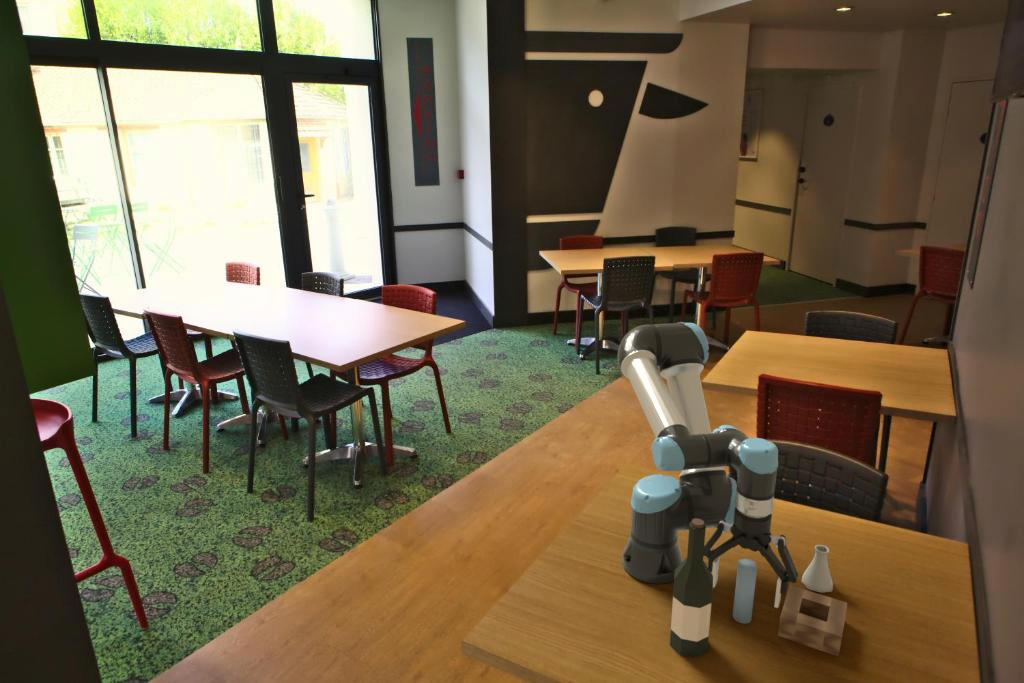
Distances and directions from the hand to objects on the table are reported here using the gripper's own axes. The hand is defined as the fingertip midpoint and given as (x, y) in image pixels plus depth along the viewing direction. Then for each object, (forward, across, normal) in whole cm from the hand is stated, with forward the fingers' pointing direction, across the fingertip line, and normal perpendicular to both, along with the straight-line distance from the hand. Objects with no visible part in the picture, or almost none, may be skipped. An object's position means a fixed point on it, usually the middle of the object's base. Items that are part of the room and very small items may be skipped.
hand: (744, 593), depth 144 cm
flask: (+7, +13, +21) cm, 26 cm away
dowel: (+6, 0, 0) cm, 6 cm away
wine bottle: (+7, -8, -14) cm, 17 cm away
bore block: (+6, +14, +4) cm, 16 cm away
